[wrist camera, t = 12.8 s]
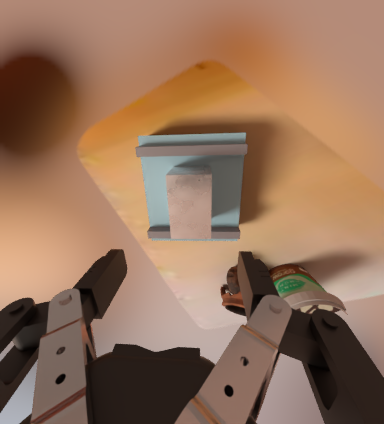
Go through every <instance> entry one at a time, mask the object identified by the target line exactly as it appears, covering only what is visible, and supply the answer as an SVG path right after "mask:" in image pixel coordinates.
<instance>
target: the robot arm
mask: <svg viewBox="0 0 384 424" xmlns="http://www.w3.org/2000/svg"><path fill="white" fill-rule="evenodd" d="M126 274H127V264H126V260H125V255H124V251H123V250H122V249H111V250H110V251H109V252H108V253H107V255H106V256H103V257H101V258H100V259H98V260H97V261H96V262H95V263H94V264H93V265H92V266H91V268H90V269H89V270H88V271H87V273H85V274H84V275H83V277H82V278H81V279H80V280H79V282H77V284H76V285H75V286H74V287H73V288H72V289H67V290H64V291H62V292H60V293H59V294H57V295H56V296H55V297H53V299H52V300H51V301H49V302H44V303H40V304H35V302H34V300H33V299H32V298H22V299H19V300H17V301H15V302H12V303H11V304H9V305H8V306H6V307H5V308H4V309H2V310H1V311H0V353H1V352H2V351H3V350H4V349H5V348H6V347H7V345H8V344H9V343H10V342H11V341H13V343H14V344H15V345H14V346H13V348H12V349H11V350H10V351H9V352H8V353H7V355H6V356H5V357H4V358H3V359H2V360H1V362H0V413H1V411H2V410H3V408H4V407H5V405H6V404H7V402H8V401H9V400H10V398H11V397H12V395H13V394H14V392H15V391H16V389H17V388H18V387H19V385H20V384H21V382H22V381H23V379H24V378H25V376H26V375H27V374H28V372H29V371H30V369H31V368H32V366H33V365H34V364H35V362H36V361H37V359H38V364H37V373H36V382H35V390H34V399H33V408H32V413H31V414H30V415H29V416H28V417H27V418H26V419H24V420H23V421H22V422H21V423H20V424H257V423H256V420H257V417H258V415H259V412H260V410H261V407H262V404H263V401H264V398H265V395H266V392H267V389H268V386H269V383H270V380H271V378H272V375H273V373H274V370H275V367H276V365H277V362H278V360H279V357H280V354H281V353H282V354H285V355H287V356H290V357H292V358H295V359H298V360H300V361H302V364H303V366H304V369H305V372H306V375H307V377H308V380H309V383H310V385H311V388H312V391H313V393H314V396H315V399H316V402H317V404H318V407H319V410H320V412H321V415H322V418H323V420H324V423H325V424H384V377H383V376H382V375H381V373H380V372H379V370H378V369H377V367H376V366H375V364H374V363H373V361H372V360H371V358H370V357H369V355H368V354H367V353H366V351H365V350H364V348H363V347H362V345H361V344H360V342H359V341H358V340H357V338H356V336H355V335H354V333H353V332H352V331H351V329H350V328H349V326H348V325H347V323H346V322H345V321H344V320H343V319H342V318H341V317H340V316H338V315H337V314H335V313H333V312H331V311H328V310H325V309H316V310H314V311H313V312H312V315H311V314H308V313H304V312H301V311H298V310H295V309H293V308H291V307H290V305H289V304H288V303H287V302H286V301H285V300H284V299H283V298H281V297H280V296H279V293H278V291H277V289H276V287H275V285H274V283H273V280H272V278H271V277H270V274H269V272H268V270H267V267H266V265H265V264H264V263H263V262H262V261H261V260H260V259H254V258H253V255H252V253H251V252H244V251H239V257H238V268H237V276H238V282H239V286H240V291H241V295H242V299H243V304H244V308H245V313H246V317H247V324H246V325H241V326H240V328H239V329H238V331H237V332H236V334H235V335H234V337H233V339H232V340H231V342H230V343H229V345H228V347H227V348H226V350H225V351H224V353H223V354H222V356H221V357H220V359H219V361H218V362H217V364H216V365H215V364H214V363H213V362H211V361H210V360H208V359H206V358H204V357H202V356H200V348H185V347H177V348H173V349H168V350H164V351H159V352H153V351H151V350H148V349H145V348H143V347H140V346H138V345H130V344H129V345H128V344H115V346H114V349H113V352H109V353H107V354H104V355H102V356H100V357H98V358H97V355H96V349H95V343H94V336H93V330H92V325H91V322H92V320H93V319H102V317H103V316H104V314H105V312H106V310H107V308H108V307H109V305H110V303H111V301H112V299H113V298H114V296H115V294H116V292H117V291H118V289H119V287H120V285H121V284H122V282H123V280H124V278H125V276H126Z"/></svg>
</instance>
